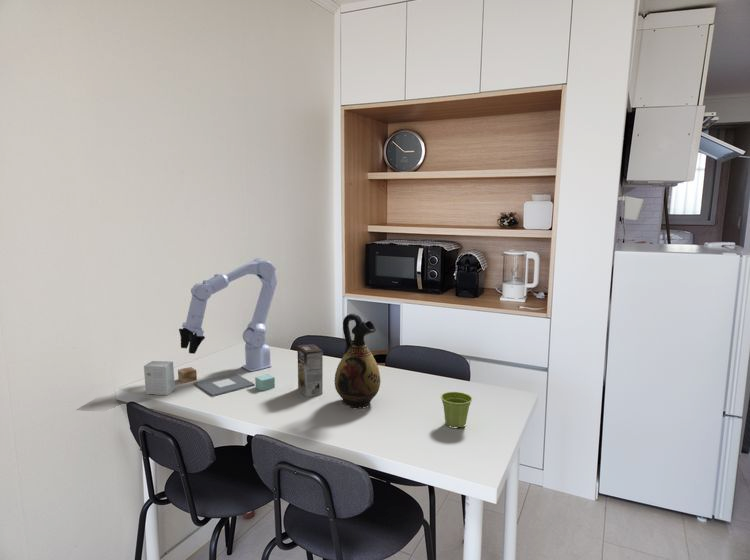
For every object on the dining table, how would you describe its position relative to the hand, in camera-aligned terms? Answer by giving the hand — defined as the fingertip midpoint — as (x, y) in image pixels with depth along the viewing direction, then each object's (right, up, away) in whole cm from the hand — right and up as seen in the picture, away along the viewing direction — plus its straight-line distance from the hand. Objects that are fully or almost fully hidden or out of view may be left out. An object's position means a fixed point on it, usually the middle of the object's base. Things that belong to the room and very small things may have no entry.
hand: (187, 350), depth 185 cm
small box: (-6, -13, -10) cm, 18 cm away
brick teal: (+30, -13, -5) cm, 33 cm away
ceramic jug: (+63, -15, -18) cm, 68 cm away
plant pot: (+94, -18, -34) cm, 102 cm away
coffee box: (+47, -14, -9) cm, 49 cm away
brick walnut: (-1, -11, +2) cm, 12 cm away
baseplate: (+14, -12, -3) cm, 19 cm away
